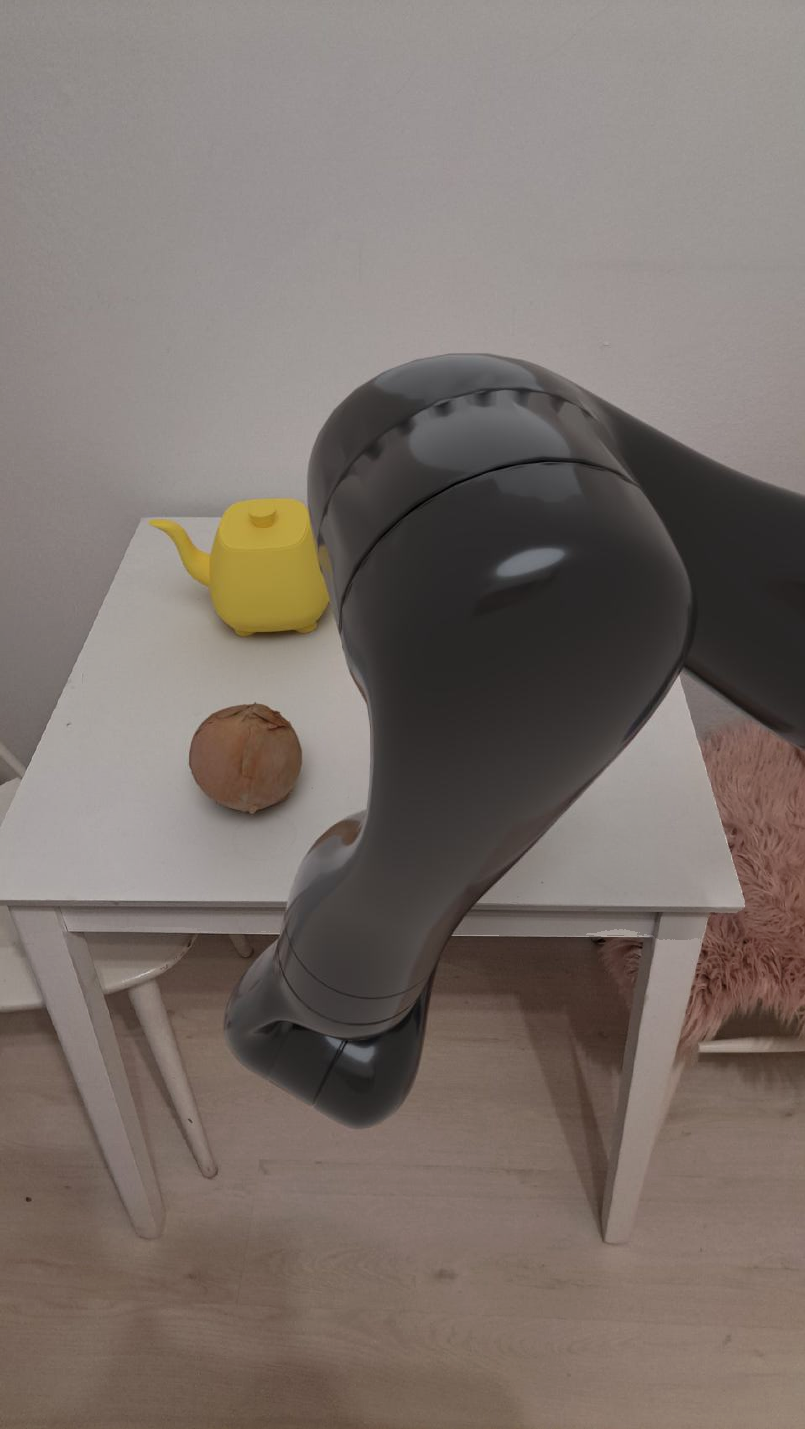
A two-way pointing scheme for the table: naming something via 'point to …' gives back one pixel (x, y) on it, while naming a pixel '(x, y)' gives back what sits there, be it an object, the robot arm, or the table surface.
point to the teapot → (259, 566)
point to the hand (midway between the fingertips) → (538, 656)
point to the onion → (246, 757)
